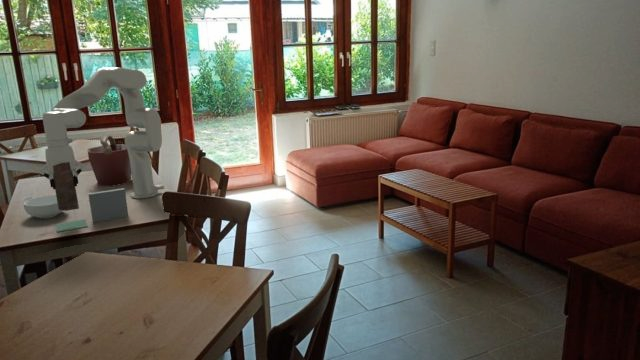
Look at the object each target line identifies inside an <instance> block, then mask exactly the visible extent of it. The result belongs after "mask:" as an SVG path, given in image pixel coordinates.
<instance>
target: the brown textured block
mask: <svg viewBox="0 0 640 360" xmlns="http://www.w3.org/2000/svg"><path fill="white" fill-rule="evenodd" d="M53 171H54V173H53V179H54V185H55V189H54V192H55V195H56V197H57V203H58V209H59V210H63V212H64V211H65V212H68V211H72V210H73V211H74V210H79V209H80V207H79V201H78V194H77V190H76V188H77V187H76V186H75V183H74V177H73V176H74V174H73V173H72V171H71V168H70V163H69V162H68V163H62V164H59V165H56V166H53Z"/></svg>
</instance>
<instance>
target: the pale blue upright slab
mask: <svg viewBox="0 0 640 360" xmlns="http://www.w3.org/2000/svg"><path fill="white" fill-rule="evenodd" d="M87 195H88V201H89V207H90V214H91V221H92V222H93V223H96V222H101V221H102V222H104V221H109V220H114V219H118V218H127V217H129V209H128V203H127V194H126V189H125V188H124V187H122V188H117V189H115V188H114V189H109V190H102V191H96V192H89V193H87Z"/></svg>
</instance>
